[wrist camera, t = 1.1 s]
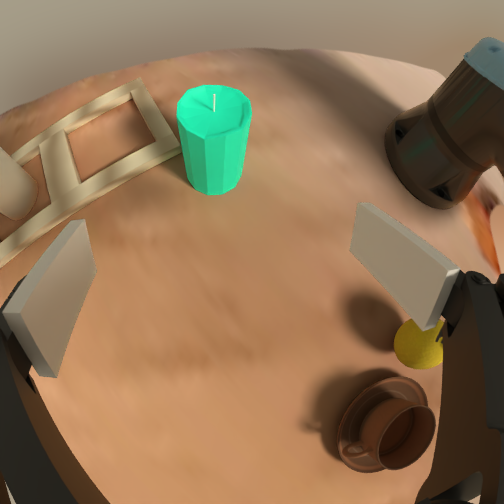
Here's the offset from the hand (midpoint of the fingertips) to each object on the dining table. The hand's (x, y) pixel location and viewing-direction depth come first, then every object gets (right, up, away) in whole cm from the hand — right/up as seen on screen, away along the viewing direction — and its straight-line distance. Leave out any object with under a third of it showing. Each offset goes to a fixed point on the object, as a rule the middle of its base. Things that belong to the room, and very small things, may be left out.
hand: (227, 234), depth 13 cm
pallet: (-22, +9, +16) cm, 29 cm away
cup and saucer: (+15, -20, +13) cm, 29 cm away
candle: (-3, +8, +18) cm, 19 cm away
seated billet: (-28, +6, +14) cm, 32 cm away
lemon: (+18, -11, +15) cm, 26 cm away
